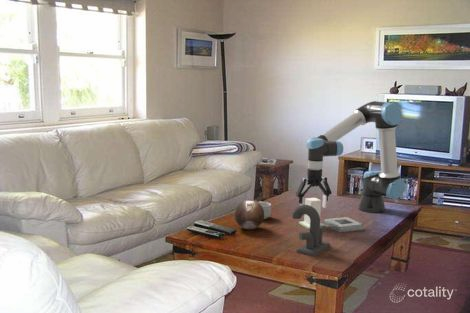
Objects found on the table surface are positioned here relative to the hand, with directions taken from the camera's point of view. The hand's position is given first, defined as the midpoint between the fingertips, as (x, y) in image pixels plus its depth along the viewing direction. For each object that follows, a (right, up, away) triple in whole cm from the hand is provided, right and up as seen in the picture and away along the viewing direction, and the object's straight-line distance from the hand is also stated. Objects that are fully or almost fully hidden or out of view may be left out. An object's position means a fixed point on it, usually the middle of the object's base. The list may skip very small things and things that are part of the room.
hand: (313, 208), depth 272 cm
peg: (0, -8, +1) cm, 8 cm away
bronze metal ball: (-34, -10, -7) cm, 36 cm away
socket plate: (+16, -10, 0) cm, 18 cm away
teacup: (-26, -6, +14) cm, 31 cm away
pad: (0, -9, +1) cm, 9 cm away
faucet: (-8, -15, -33) cm, 37 cm away
